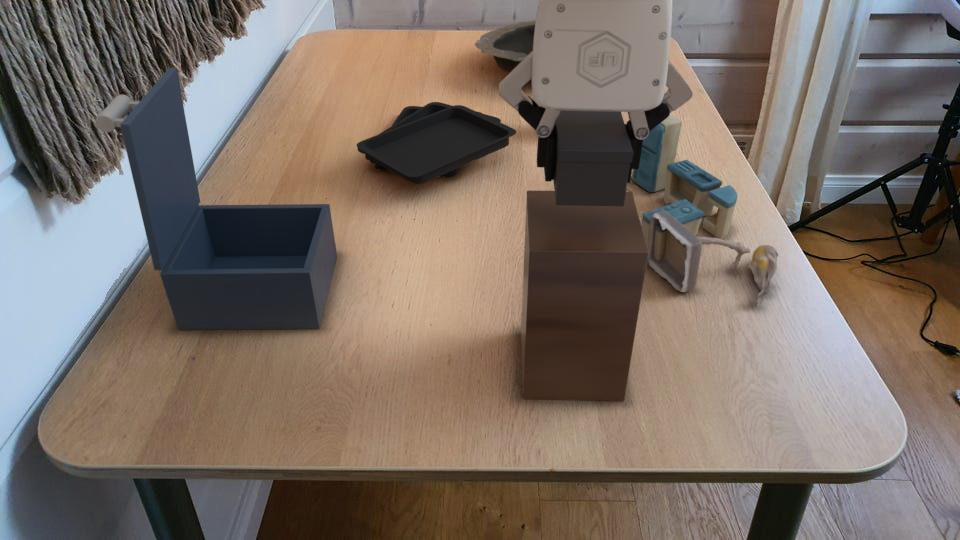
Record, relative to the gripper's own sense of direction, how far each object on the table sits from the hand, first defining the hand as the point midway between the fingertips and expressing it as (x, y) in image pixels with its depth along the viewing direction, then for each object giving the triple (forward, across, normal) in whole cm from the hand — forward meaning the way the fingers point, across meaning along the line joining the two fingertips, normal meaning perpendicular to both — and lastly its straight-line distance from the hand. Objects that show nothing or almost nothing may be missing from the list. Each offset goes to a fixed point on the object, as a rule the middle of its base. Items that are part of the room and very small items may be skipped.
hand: (586, 172), depth 63 cm
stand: (+23, 0, +1) cm, 23 cm away
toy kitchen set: (+23, +14, +30) cm, 40 cm away
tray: (+23, -16, +45) cm, 53 cm away
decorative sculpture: (+23, +19, +15) cm, 33 cm away
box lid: (+7, -42, +12) cm, 44 cm away
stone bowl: (+22, 0, +80) cm, 83 cm away
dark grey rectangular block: (+1, 0, 0) cm, 1 cm away
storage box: (+23, -35, +12) cm, 43 cm away
